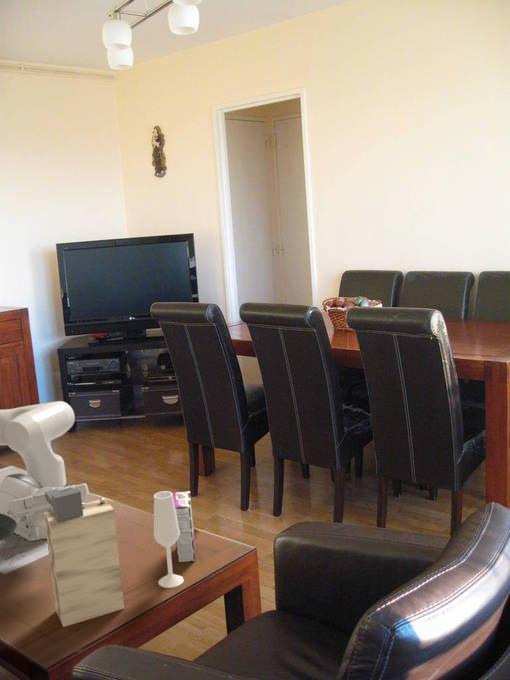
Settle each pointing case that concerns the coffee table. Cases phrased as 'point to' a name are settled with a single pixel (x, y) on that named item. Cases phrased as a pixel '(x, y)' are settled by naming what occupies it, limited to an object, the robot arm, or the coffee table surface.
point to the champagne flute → (166, 533)
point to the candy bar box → (184, 527)
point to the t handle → (65, 504)
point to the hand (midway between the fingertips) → (53, 494)
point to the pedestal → (85, 563)
